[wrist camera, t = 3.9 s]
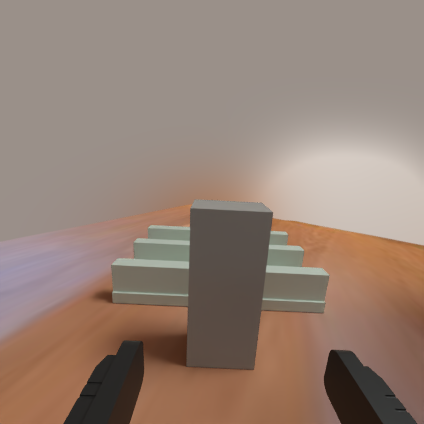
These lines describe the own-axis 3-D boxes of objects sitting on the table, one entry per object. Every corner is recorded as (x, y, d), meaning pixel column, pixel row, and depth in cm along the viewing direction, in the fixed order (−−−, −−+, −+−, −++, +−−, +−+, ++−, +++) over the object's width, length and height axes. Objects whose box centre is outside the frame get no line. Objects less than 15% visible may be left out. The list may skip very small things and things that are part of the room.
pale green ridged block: (281, 254, 35) (284, 231, 34) (323, 313, 22) (330, 276, 21) (151, 248, 35) (151, 224, 34) (112, 302, 22) (109, 266, 21)
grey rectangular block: (247, 336, 18) (261, 202, 16) (254, 369, 15) (272, 212, 13) (190, 333, 18) (194, 199, 16) (186, 366, 15) (190, 208, 13)
